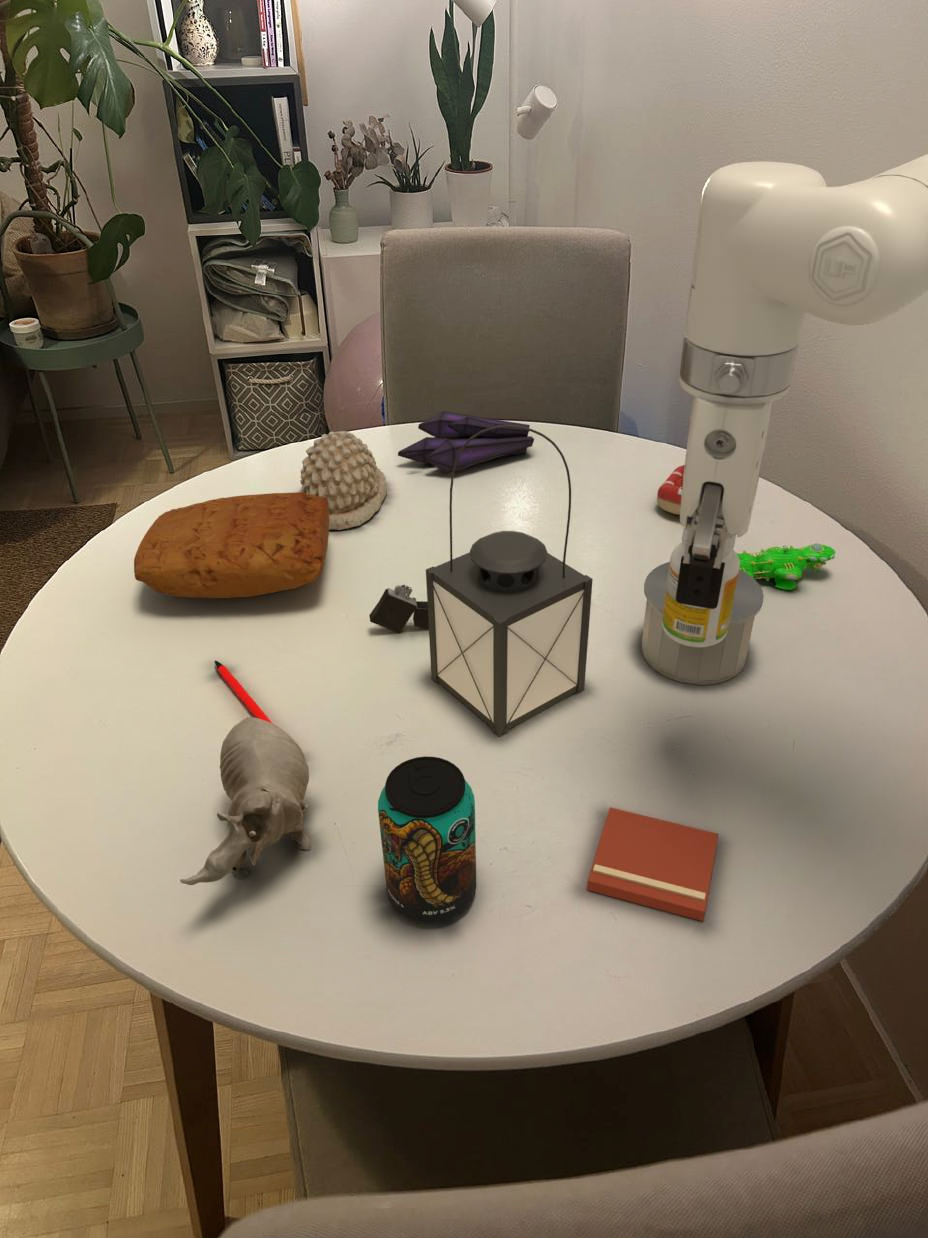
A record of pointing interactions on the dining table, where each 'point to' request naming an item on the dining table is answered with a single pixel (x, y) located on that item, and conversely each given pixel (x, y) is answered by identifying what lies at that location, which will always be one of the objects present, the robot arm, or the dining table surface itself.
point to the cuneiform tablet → (236, 546)
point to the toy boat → (672, 492)
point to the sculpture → (344, 478)
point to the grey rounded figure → (257, 796)
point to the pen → (241, 692)
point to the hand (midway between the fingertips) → (702, 581)
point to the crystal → (455, 433)
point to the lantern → (508, 624)
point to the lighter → (399, 610)
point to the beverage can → (428, 839)
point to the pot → (694, 653)
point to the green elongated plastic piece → (785, 563)
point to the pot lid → (744, 601)
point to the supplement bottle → (695, 621)
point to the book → (654, 863)
